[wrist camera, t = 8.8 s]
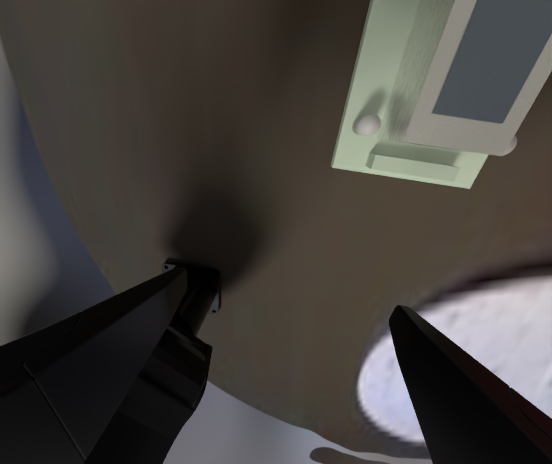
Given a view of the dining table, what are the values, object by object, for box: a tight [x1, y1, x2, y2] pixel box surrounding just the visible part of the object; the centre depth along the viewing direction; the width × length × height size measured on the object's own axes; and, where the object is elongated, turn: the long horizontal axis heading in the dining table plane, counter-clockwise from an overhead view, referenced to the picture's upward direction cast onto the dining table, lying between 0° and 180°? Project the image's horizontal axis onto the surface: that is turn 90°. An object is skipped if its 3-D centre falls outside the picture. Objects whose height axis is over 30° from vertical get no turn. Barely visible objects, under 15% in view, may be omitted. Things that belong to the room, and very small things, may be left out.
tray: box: [331, 0, 517, 189], centre depth 13 cm, size 14×11×4 cm
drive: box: [376, 0, 552, 156], centre depth 12 cm, size 9×6×5 cm, turn 172°
